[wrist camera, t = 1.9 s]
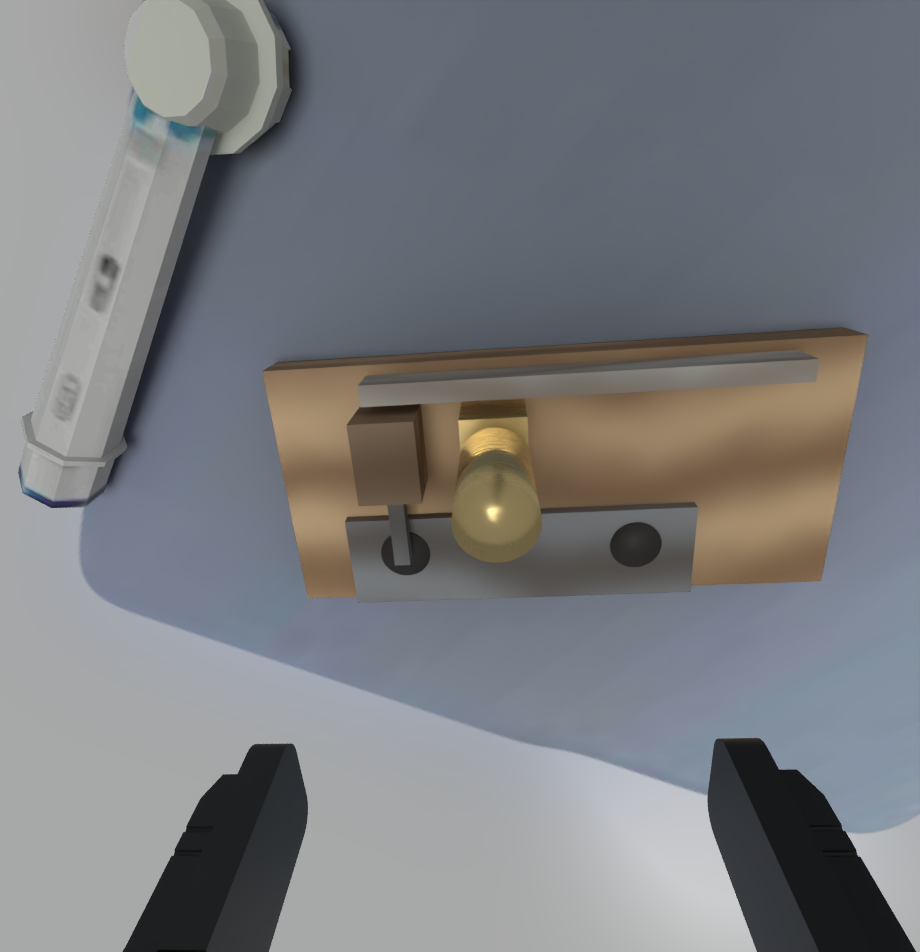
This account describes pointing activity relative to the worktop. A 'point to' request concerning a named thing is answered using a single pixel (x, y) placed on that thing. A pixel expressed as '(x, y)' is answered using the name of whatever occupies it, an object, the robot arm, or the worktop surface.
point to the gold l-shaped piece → (495, 482)
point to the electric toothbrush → (147, 224)
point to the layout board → (586, 463)
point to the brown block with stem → (390, 465)
